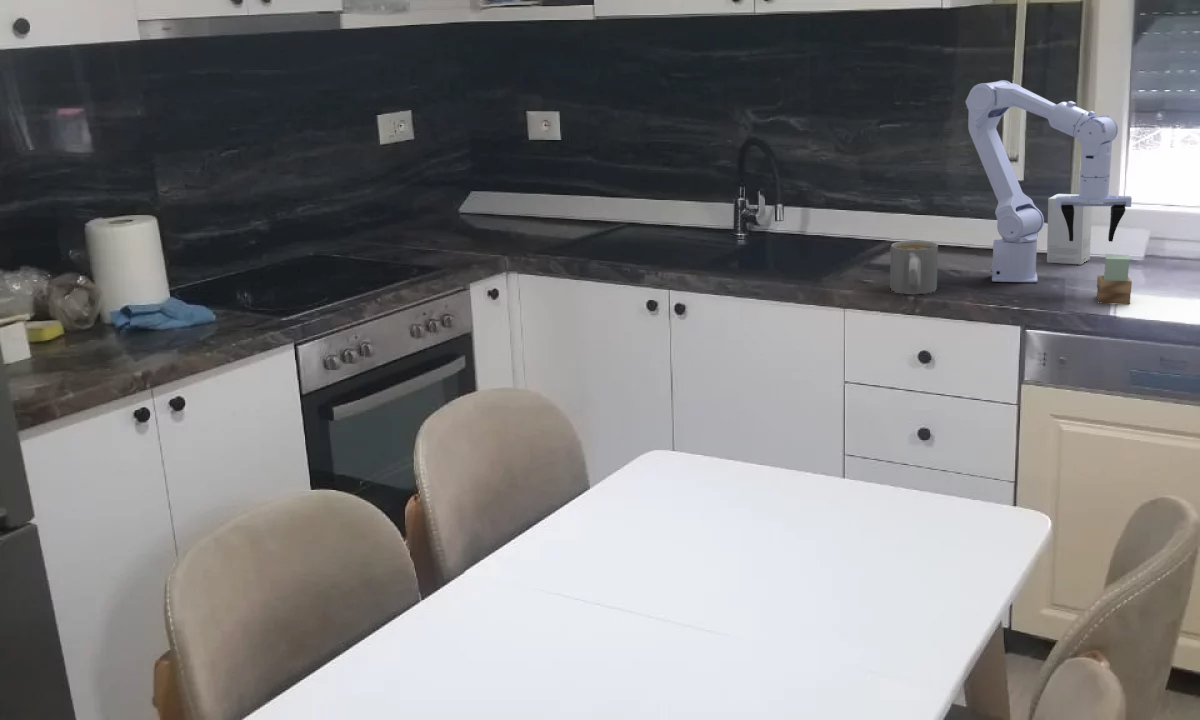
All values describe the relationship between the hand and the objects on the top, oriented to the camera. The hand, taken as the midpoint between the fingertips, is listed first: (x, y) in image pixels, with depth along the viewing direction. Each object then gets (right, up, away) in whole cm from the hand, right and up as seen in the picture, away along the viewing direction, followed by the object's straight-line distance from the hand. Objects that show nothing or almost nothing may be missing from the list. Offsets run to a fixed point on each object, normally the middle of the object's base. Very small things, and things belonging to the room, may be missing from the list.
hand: (1090, 240), depth 248 cm
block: (+2, -9, -8) cm, 12 cm away
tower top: (+2, -11, -8) cm, 13 cm away
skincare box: (+6, -2, +28) cm, 29 cm away
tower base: (+2, -13, -7) cm, 15 cm away
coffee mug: (-35, -10, +9) cm, 38 cm away
